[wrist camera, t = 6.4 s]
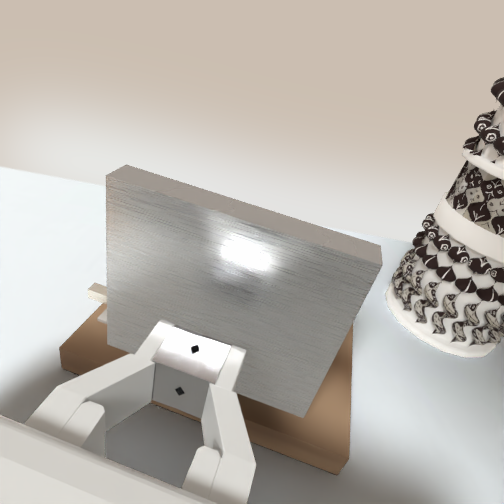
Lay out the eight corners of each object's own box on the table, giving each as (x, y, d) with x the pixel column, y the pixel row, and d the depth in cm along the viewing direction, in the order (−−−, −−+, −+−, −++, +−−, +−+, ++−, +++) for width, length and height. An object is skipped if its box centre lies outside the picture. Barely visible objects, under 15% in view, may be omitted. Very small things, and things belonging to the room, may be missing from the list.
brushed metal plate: (295, 433, 16) (382, 265, 11) (49, 339, 17) (23, 148, 12) (309, 348, 20) (376, 199, 15) (113, 278, 21) (114, 119, 16)
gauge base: (337, 475, 16) (387, 404, 13) (61, 368, 18) (51, 282, 15) (346, 309, 26) (376, 248, 23) (169, 249, 28) (176, 184, 25)
